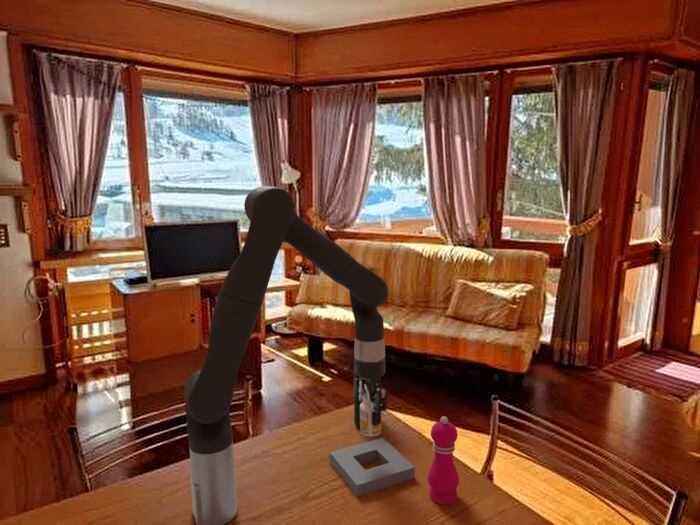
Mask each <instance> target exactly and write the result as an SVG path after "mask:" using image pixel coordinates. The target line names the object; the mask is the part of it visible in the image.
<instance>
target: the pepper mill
mask: <svg viewBox="0 0 700 525" xmlns="http://www.w3.org/2000/svg"><path fill="white" fill-rule="evenodd" d="M430 437H431V439H432V441H433V442H432V450H434V458H433V461H432V464H430V468H429V471H428V474H427V482H428V485H429V497H430V499H431V500H432V501H433V502H435V503H437V504H440V505H451V504H452V503H453V504H454V502H455V501H456V500H457V495H458V491H457V488H458V487H459V485H460V484H459V483H460V477H459V472H458V471H457V468H456V465H455V463H454V458H453V457H454V455H453V454H454V452H455V450H456V448H455V447H456V444H455V443H456V441H457V439H458V430H457V427H456V426H455V425H454V424H453V423H452V422H449V418H448V417H447V416H441V418H440V420H439V421H437V422H436V423H434V424H433V425H432V426H431V430H430Z"/></svg>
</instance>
